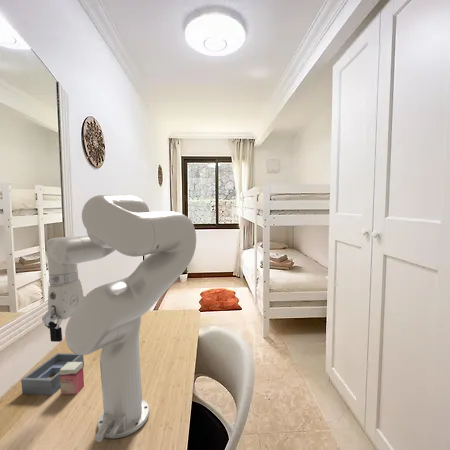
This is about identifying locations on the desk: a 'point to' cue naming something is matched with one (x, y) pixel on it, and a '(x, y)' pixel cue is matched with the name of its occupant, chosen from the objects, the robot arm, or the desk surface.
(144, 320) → the desk surface
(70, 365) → the small box
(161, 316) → the desk surface
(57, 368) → the walled box
